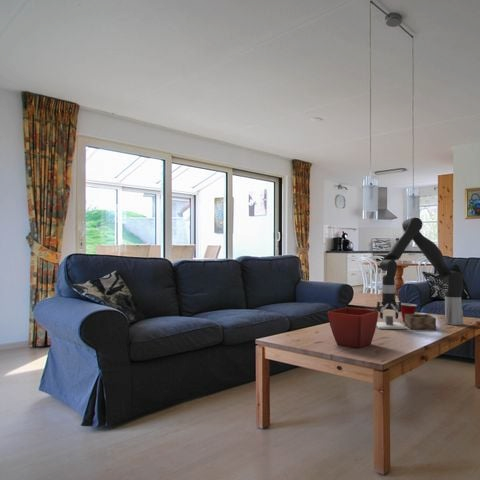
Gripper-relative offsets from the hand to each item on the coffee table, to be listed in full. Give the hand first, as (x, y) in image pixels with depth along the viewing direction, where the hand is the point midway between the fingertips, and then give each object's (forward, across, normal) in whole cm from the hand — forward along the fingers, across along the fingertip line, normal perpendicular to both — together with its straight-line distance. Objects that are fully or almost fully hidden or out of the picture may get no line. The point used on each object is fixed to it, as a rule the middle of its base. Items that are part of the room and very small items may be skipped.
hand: (389, 318), depth 254 cm
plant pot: (+5, +28, +47) cm, 55 cm away
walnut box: (+5, -18, 0) cm, 19 cm away
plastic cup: (+5, -16, -18) cm, 25 cm away
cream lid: (+5, 0, 0) cm, 5 cm away
